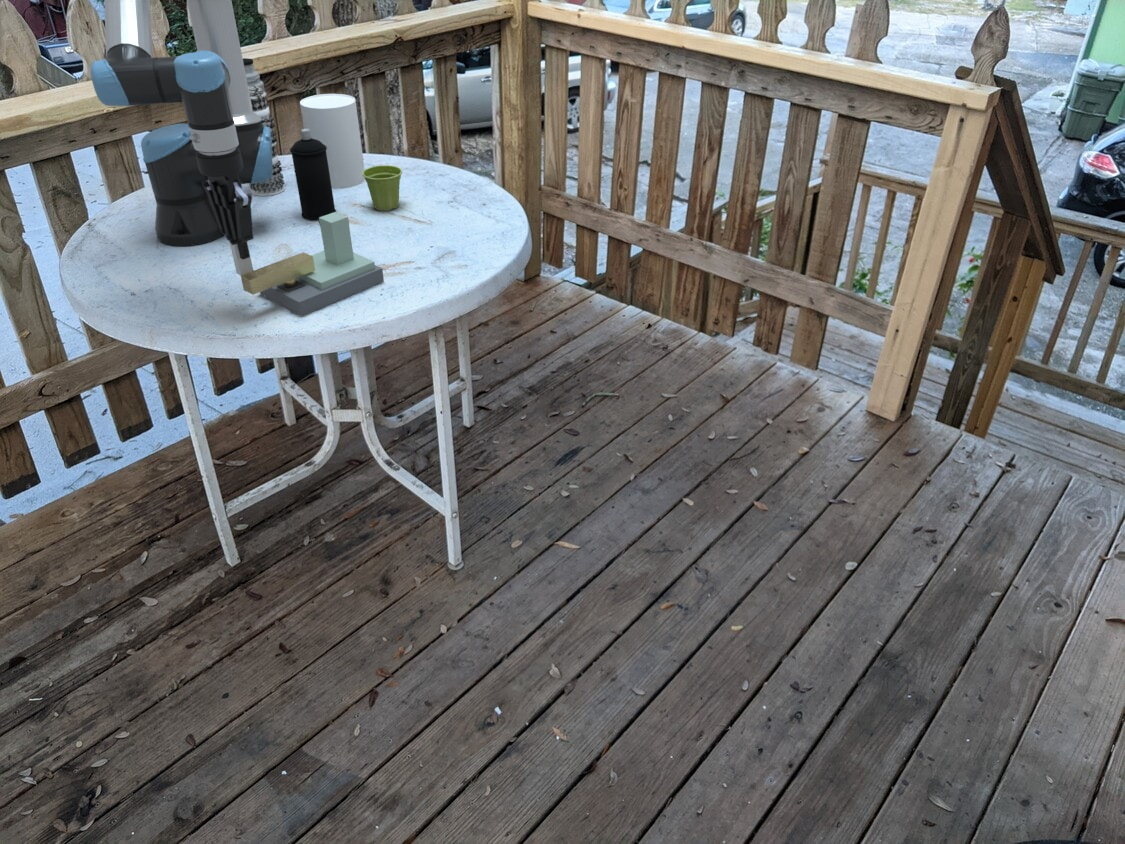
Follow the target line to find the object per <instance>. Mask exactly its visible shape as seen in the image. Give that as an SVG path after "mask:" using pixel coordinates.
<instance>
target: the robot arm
mask: <svg viewBox="0 0 1125 844" xmlns="http://www.w3.org/2000/svg"><path fill="white" fill-rule="evenodd" d="M103 2H104V30H105V35H104V36H105V58H106V59H105V58H102V59H101V60H94V61H93V62H92V63H91V65H90V76H91V77H90V78H91V81H92V85H93V89H94V92H95V94H96V97H97V98H98V100H99V101H100V102H101V104H102V105H104V106H107V107H131V106H133V107H134V106H144V105H145V106H146V105H157V104H172V103H176V104H177V103H182V104H183V107H184V112H185V115H186V119H187V123H183V122H182V123H176V124H170V125H166V126H162V127H159V128H156V129H154V130H151V131H150V132H148V133H146V134H145V135H144V136H143V138H142V139H141V142H140V146H141V153H142V157H143V158H142V159H143V162H144V165H145V168H146V171H147V174H148V178H149V182H150V184H151V185H150V186H151V189H152V192H153V195H154V199H155V202H156V204H155V205H156V210H155V225H154V229H155V230H154V231H155V234H156V238H157V239H158V241H159V242H160V243H163V244H164V245H169V246H177V247H181V246H182V247H186V246H187V247H188V246H195V245H202V244H206V243H210V242H212V241H214V240H217V239H219V238H221V237H223V236H224V235H225V238H226V239H227V241H229V247H230V250H231V255H232V258H233V263H234V268H235V271H236V274H237V275H239V276H241V275H243V274H246V273H249V272H251V271H254V267H253V264H252V258H251V257H252V256H251V254H250V249H249V244H248V241H252V240H254V227H253V214H252V206H251V205H252V202H253V201H252V200H253V196H252V193H250V192H249V193H245V192H244V190H243V189H242V187H243V185H249V184H250V183H251V184H253V183H259V182H266V181H268V180H270V179H271V177H272V145H271V130H270V128H269V127H266V126H264V127H263V125H262V119H261V117H259V116H258V115H257V114H256V113H254V112H253V110H252V105H251V100H250V94H249V89H248V84H247V79H246V74H245V68H244V63H243V53H242V49H241V44H240V38H239V34H238V27H237V23H236V18H235V13H234V12H235V11H234V8H233V7H234V6H233V3H232V0H186V4H187V9H188V13H189V17H190V23H191V26H192V27H191V28H192V32H193V36H194V40H195V46H196V49H197V51H195V52H189V53H182V54H181V55H178V56H162V57H161V56H160V57H158V56H157V57H154V52H153V34H152V33H153V32H152V19H151V0H104V1H103Z"/></svg>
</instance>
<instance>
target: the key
mask: <svg viewBox="0 0 1125 844" xmlns="http://www.w3.org/2000/svg"><path fill="white" fill-rule="evenodd" d="M313 271H315V266H314V260H313V256H311V255H310V254H309V253H306V252H304V251H303V252H301V253H298V254H294V255H293V256H289V257H287V258H283V259H282V260H279V261H276V262H274V263H273V262H272V263H270V264H268V265H264V266H262V267H260V268H256V269H255V270H254V269H253V271H251V272H249V273H246V274H243V275H240V279H241V283H242V287H243V291H245V292H247V293H248V294H251V295H252V296H253V295H257V294H260V292H261V291H264V290H267V289H269V288H272V287H274V286H277V285H279V284H282V283H284V286H285V287H294V286H296V285H297V281H296V278H297V277H300V276H303V275H305V274H308V273H310V272H313Z"/></svg>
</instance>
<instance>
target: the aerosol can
mask: <svg viewBox="0 0 1125 844" xmlns="http://www.w3.org/2000/svg"><path fill="white" fill-rule="evenodd" d="M300 133H301V139H299V140H297V141H295V142H294V143H293V145H292V147H291V148H290V149H289V151H290V153H291V156H292V163H293V168H294V169H293V170H294V174H295V179H296V185H297V191H298V197H299V202H300V209H301V214H300V215H301V217H302V218H303V219H304V218H305V220H307V221H313V220H318V221H319V217H322V216H325V215H328V214H331V213H334V212H337V209H336V206H335V201H334V199H335V198H334V194H333V189H332V186H331V180H330V173H329V167H328V160H327V154H326V149H327V147H326V146H325V145H324V144H323V143H321V142H320V141H319V140H316V139H312V138H311V135H310V130H309V129H304V128H302V129H301V130H300ZM337 213H338V212H337Z"/></svg>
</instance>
